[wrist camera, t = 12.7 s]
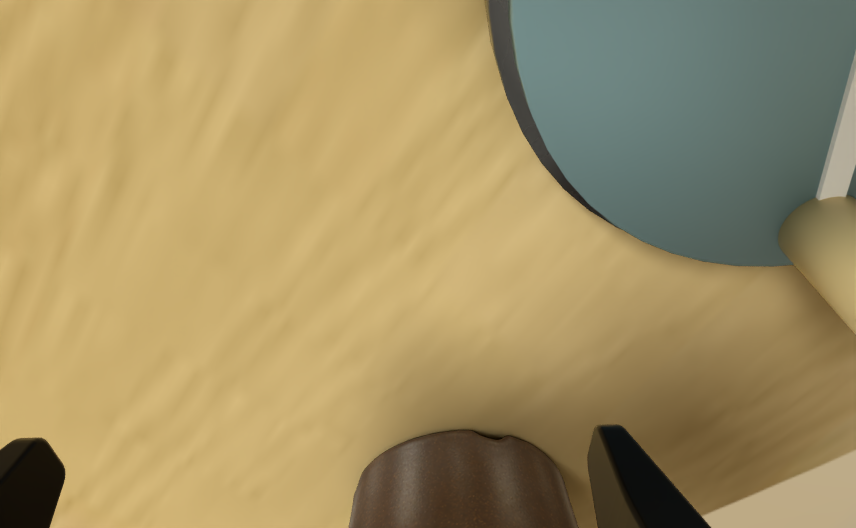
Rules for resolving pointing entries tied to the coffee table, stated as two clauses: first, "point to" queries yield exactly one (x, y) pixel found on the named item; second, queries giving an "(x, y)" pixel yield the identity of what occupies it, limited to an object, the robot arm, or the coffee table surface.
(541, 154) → the base
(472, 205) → the coffee table surface
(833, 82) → the handwheel
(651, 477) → the robot arm
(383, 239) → the coffee table surface
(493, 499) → the plant pot
